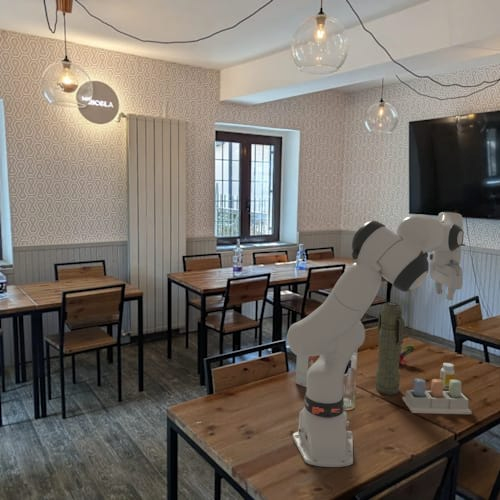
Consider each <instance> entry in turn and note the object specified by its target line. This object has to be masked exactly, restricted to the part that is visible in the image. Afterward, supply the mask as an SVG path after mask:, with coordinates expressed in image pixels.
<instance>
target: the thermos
mask: <svg viewBox="0 0 500 500" xmlns="http://www.w3.org/2000/svg"><path fill="white" fill-rule="evenodd" d="M402 313H403V312H402V308H401V304H399V303H397V302H393V301H387V302H385V303H383V306H382V308H381V312H380V313H379V314H378V319H377V320H378V323H377V337H378V338H377V340H378V341H377V347H378V363H377V365H378V366H377V369H376V375H375V384H376V385H375V390H376V391H377V392H379V393H380V394H384V395H388V396H389V395H390V396H392V395H396V394H398V393H399V387H400V380H401V378H400V377H401V376H400V375H401V374H400V371H399V370H400V363H399V357H400V350H401V349H402V345H403V344H404V332H405V321H404V318H402V317H403V316H402V315H403V314H402Z"/></svg>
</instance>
